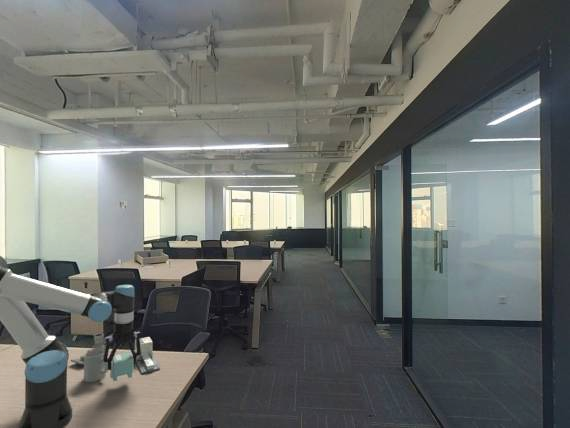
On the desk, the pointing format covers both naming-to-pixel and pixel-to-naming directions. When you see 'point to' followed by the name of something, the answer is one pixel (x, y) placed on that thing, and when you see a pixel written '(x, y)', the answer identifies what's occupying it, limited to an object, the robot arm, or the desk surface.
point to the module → (122, 365)
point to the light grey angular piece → (146, 356)
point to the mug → (94, 365)
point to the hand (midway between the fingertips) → (121, 374)
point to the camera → (98, 345)
